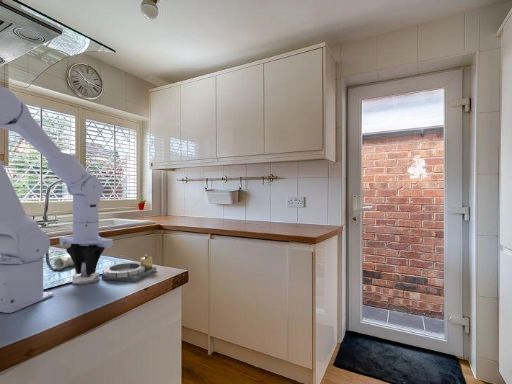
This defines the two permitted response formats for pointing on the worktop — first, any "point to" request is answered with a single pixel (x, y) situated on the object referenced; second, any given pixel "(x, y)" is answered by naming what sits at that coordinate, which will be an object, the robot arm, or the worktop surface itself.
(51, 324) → the worktop surface
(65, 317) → the worktop surface
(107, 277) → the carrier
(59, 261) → the pipe fitting
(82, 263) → the silver stemmed round piece
